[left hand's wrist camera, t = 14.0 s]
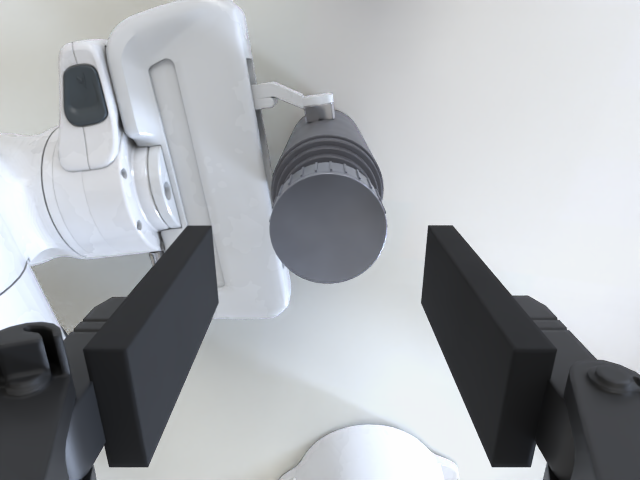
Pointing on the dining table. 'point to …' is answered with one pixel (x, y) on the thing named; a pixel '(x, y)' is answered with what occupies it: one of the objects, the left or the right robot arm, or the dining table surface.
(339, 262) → the cap
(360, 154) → the track spotlight head
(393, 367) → the dining table surface
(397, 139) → the dining table surface
